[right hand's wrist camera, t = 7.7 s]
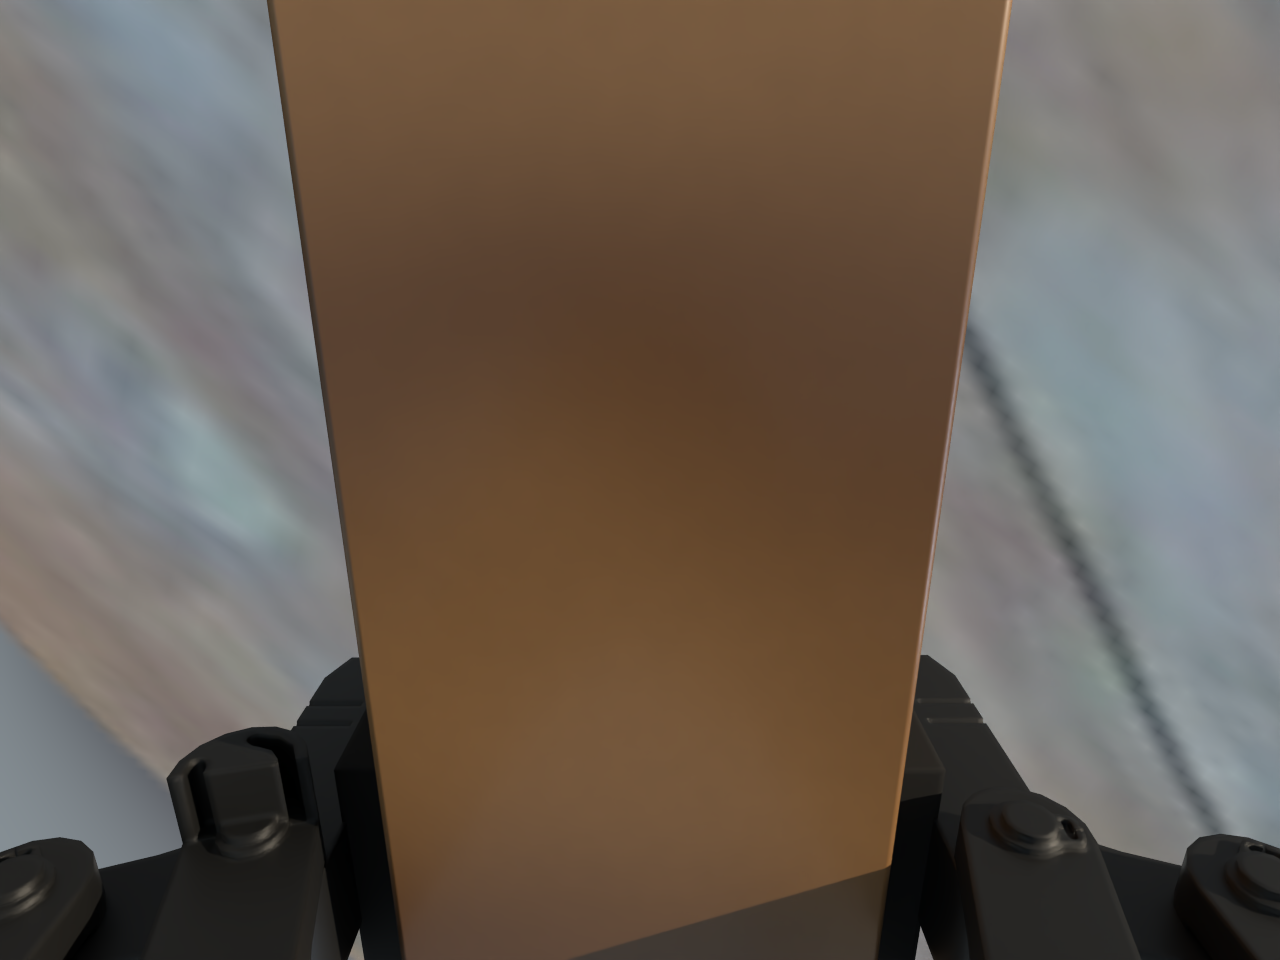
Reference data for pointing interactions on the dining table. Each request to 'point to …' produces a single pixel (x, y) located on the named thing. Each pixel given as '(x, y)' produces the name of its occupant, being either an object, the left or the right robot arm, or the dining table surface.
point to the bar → (639, 444)
